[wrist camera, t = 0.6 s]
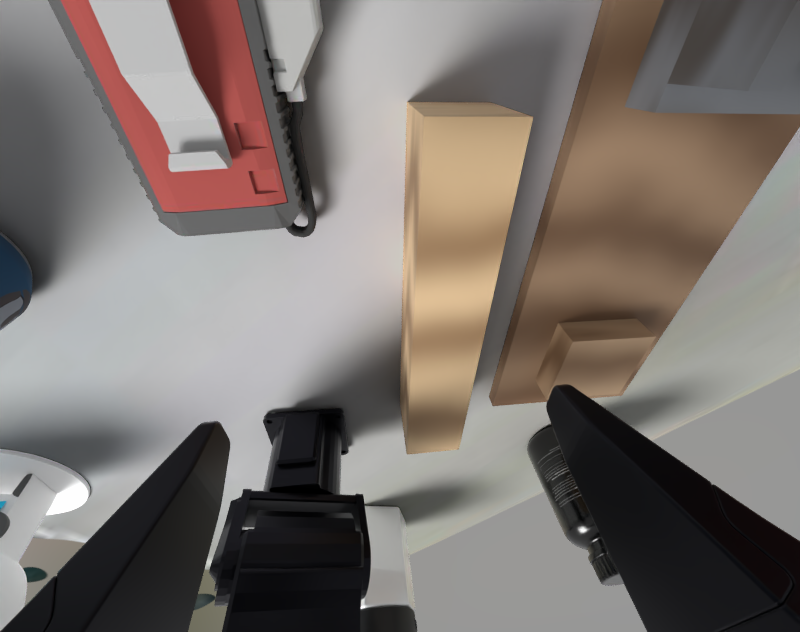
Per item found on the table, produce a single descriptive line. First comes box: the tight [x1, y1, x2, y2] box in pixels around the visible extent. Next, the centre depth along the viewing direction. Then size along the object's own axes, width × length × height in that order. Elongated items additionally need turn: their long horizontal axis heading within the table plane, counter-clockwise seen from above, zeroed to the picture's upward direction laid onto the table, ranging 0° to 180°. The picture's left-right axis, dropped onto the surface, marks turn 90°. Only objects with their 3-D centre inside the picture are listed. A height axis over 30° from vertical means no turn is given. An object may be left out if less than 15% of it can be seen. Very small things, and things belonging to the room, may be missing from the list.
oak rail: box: [400, 102, 533, 454], centre depth 21 cm, size 22×4×5 cm, turn 179°
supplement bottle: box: [527, 426, 624, 586], centre depth 31 cm, size 7×7×12 cm
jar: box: [360, 506, 417, 632], centre depth 38 cm, size 9×8×12 cm
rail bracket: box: [489, 0, 800, 406], centre depth 19 cm, size 30×12×6 cm, turn 179°
